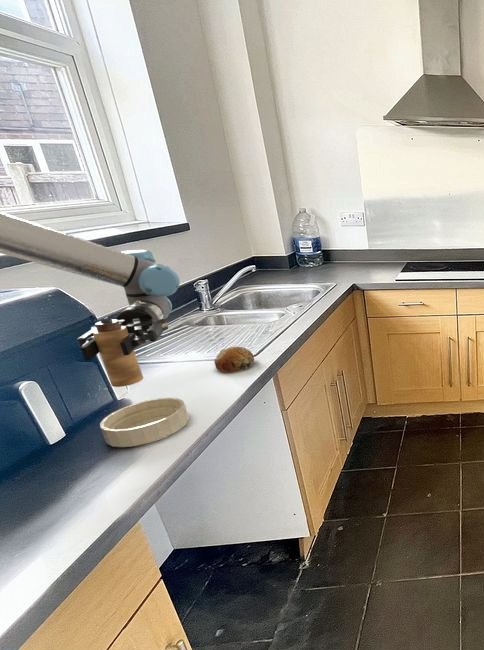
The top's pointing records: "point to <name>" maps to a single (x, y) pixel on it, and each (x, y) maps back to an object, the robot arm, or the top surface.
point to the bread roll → (234, 359)
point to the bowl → (144, 422)
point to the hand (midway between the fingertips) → (105, 351)
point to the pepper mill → (116, 353)
